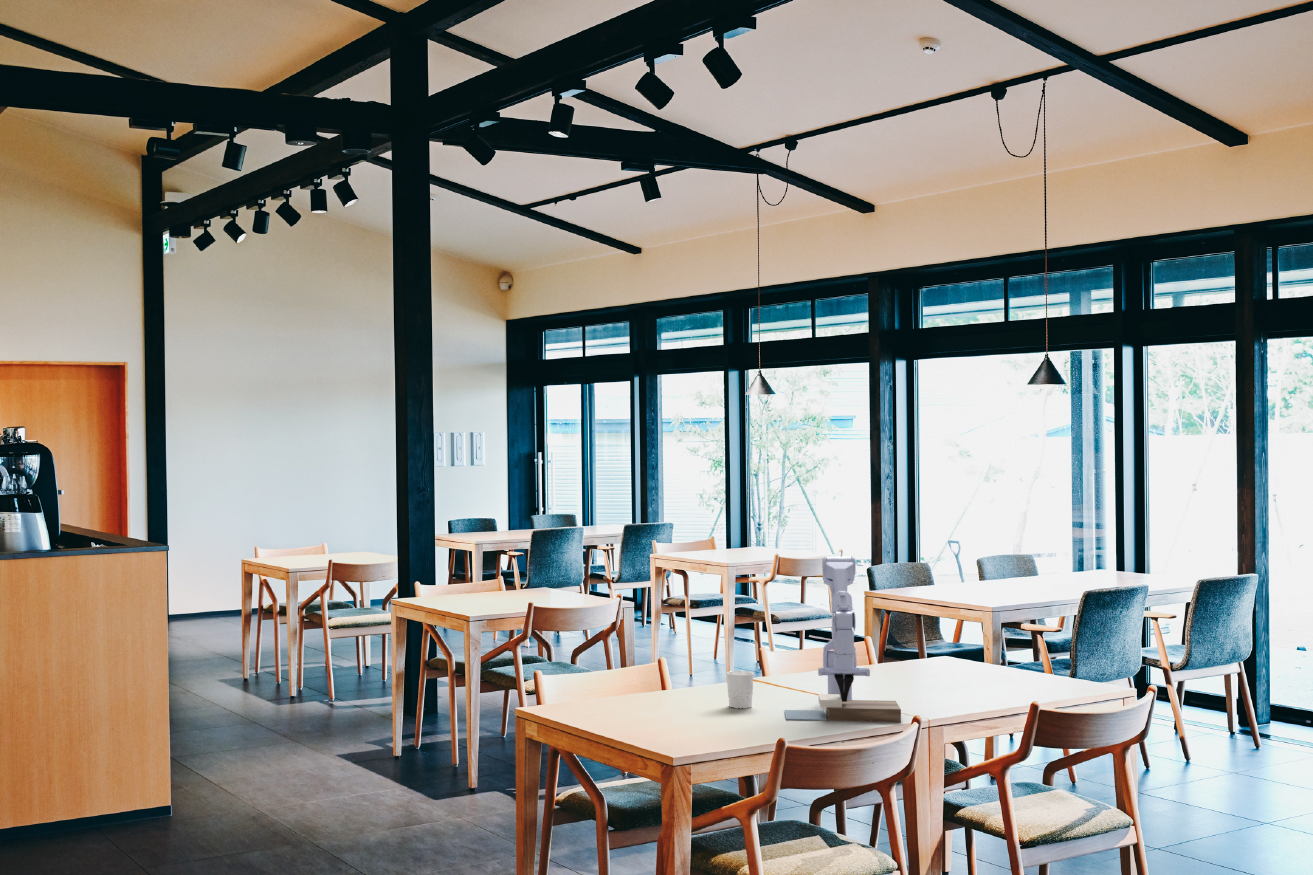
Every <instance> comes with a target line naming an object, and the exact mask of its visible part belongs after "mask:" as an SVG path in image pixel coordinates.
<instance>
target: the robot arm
mask: <svg viewBox="0 0 1313 875" xmlns="http://www.w3.org/2000/svg"><path fill="white" fill-rule="evenodd" d="M821 565H822V566H821V568H822V580H823V584H825V585H827V586H829V590H830V593H831V594H830V595H831V596H830V597H831V599H830V600H831V638H832V639H830V640H829V641H828V642H827V643H826V644H824V646H823V649H822V650H823V652H822V667H818V669H817V675H818V677H819V676H827V694H840V697H841V700H842V702H847V700H854V699H853V697H852V696H853V691H852V690H853V687H852V686H853V685H852V684H853V682H854V679H855V677H856V676H857V677H858V676H859V677H860V676H861V677H862V676H863V677H864V676H866V677H870V676H871V669H870V668H865V667H863V668H862V667H857V652H856V647H855V631H856V626H857V624H856V623H857V622H856V621H857V619H856V613H855V609H854V608H853V599H852V595H851V594H850V593H849V592H848V586H850V585H852V584H854V581H855V576H856V571H857V570H856V558H855V557H854V556H852V555H851V556H826V555H825V556H823V557H822V563H821ZM854 676H855V677H854Z"/></svg>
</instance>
